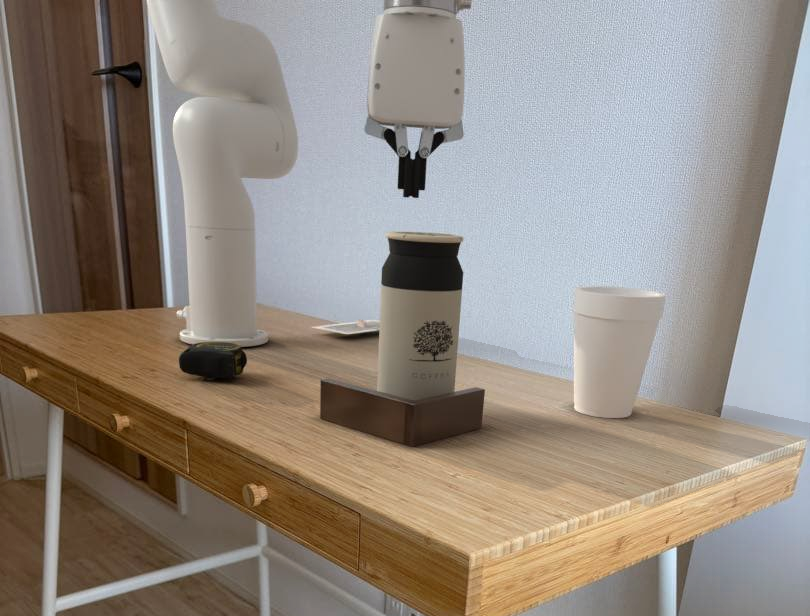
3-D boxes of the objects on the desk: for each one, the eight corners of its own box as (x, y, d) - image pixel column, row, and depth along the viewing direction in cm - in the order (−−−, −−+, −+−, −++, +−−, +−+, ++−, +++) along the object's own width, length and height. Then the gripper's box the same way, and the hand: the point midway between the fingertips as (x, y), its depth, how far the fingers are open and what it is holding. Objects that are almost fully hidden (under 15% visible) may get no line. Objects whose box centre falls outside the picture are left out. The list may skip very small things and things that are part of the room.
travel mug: (372, 407, 90) (378, 229, 83) (444, 408, 91) (456, 233, 84) (380, 427, 82) (389, 234, 75) (459, 427, 84) (474, 238, 77)
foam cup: (544, 402, 96) (558, 285, 91) (610, 398, 99) (627, 286, 94) (593, 424, 88) (611, 297, 83) (662, 419, 91) (684, 297, 86)
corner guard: (319, 418, 84) (320, 379, 83) (390, 403, 92) (392, 367, 90) (412, 447, 77) (414, 404, 75) (481, 428, 84) (485, 389, 82)
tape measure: (176, 380, 97) (174, 347, 95) (203, 369, 103) (201, 338, 102) (231, 386, 96) (230, 353, 94) (254, 374, 102) (254, 343, 100)
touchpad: (310, 334, 131) (310, 320, 130) (373, 326, 142) (374, 313, 141) (346, 341, 126) (347, 327, 126) (409, 332, 137) (409, 319, 136)
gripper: (487, 15, 89) (473, 200, 96) (347, 6, 88) (343, 193, 95) (498, 1, 82) (482, 201, 89) (346, -10, 81) (342, 194, 88)
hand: (410, 197), depth 92 cm, fingers closed
